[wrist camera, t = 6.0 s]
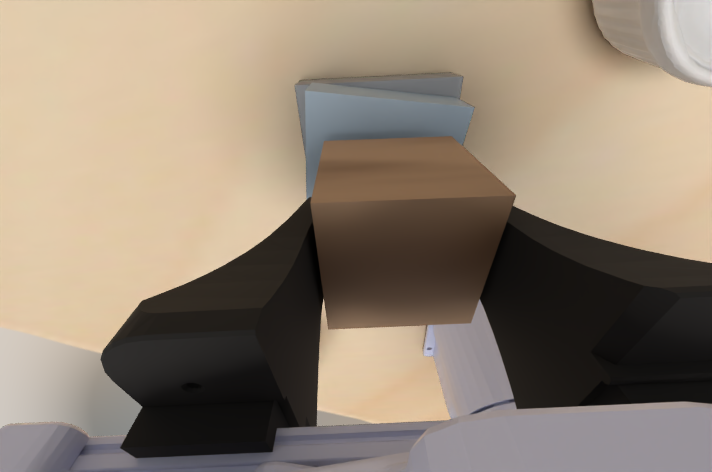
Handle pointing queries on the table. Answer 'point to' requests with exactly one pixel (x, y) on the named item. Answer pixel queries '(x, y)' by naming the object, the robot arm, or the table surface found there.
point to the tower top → (376, 118)
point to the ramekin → (662, 34)
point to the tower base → (387, 87)
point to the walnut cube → (405, 231)
